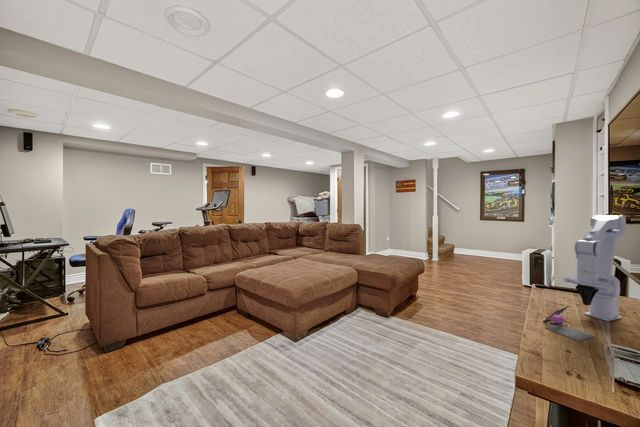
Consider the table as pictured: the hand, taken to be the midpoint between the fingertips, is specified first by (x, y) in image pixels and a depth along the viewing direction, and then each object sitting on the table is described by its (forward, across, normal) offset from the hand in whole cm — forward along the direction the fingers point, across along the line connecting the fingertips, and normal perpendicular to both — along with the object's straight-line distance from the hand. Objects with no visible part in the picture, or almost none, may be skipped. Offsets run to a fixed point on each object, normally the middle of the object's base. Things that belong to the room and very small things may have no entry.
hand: (586, 304), depth 107 cm
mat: (+9, +1, -12) cm, 15 cm away
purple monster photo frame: (+6, -5, -5) cm, 9 cm away
